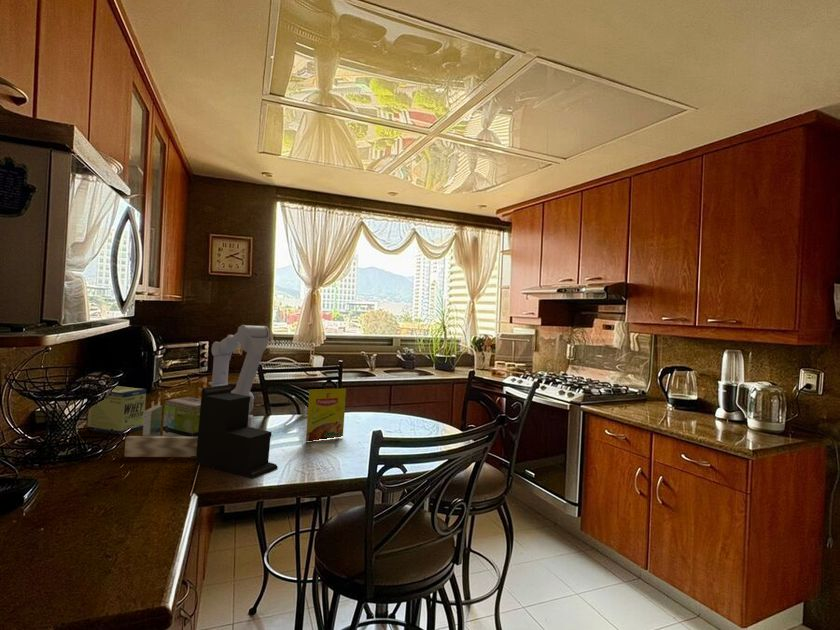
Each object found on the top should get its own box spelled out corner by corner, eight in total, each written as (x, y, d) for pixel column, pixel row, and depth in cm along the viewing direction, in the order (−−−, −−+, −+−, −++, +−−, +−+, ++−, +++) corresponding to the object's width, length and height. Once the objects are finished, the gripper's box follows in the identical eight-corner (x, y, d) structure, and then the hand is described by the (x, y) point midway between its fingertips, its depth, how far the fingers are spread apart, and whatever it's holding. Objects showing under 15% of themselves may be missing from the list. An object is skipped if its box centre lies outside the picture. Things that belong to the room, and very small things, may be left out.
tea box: (160, 441, 154) (163, 399, 155) (185, 435, 164) (188, 396, 164) (190, 448, 149) (194, 405, 149) (215, 441, 158) (218, 401, 158)
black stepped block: (278, 469, 134) (283, 392, 135) (251, 479, 124) (257, 397, 125) (223, 455, 144) (228, 384, 144) (194, 464, 134) (200, 387, 134)
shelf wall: (214, 455, 143) (216, 436, 143) (213, 457, 141) (214, 438, 141) (127, 454, 138) (128, 435, 138) (124, 456, 136) (125, 437, 136)
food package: (306, 443, 163) (309, 390, 164) (305, 442, 164) (308, 389, 165) (343, 439, 172) (346, 388, 173) (342, 438, 173) (345, 388, 174)
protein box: (120, 435, 158) (124, 392, 159) (85, 430, 162) (89, 388, 162) (144, 429, 169) (147, 388, 169) (110, 424, 172) (114, 385, 172)
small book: (159, 446, 148) (162, 405, 148) (148, 454, 139) (151, 411, 139) (152, 446, 148) (155, 405, 148) (141, 454, 139) (144, 410, 139)
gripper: (215, 369, 182) (212, 401, 181) (204, 373, 167) (201, 409, 167) (233, 370, 183) (230, 402, 182) (223, 374, 168) (221, 409, 168)
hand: (217, 405), depth 175 cm, fingers closed
